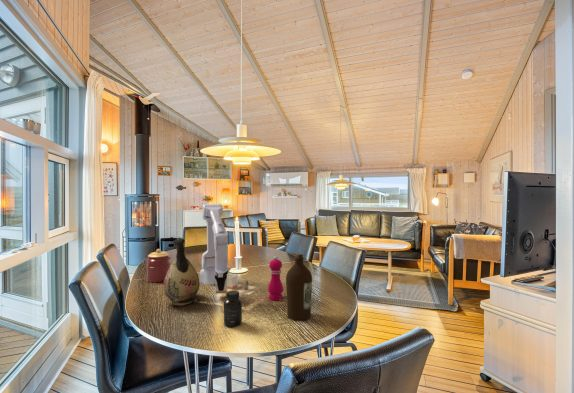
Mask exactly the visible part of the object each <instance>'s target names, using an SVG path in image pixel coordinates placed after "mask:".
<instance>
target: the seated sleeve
mask: <svg viewBox="0 0 574 393" xmlns="http://www.w3.org/2000/svg"><path fill="white" fill-rule="evenodd" d="M238 277H239V276H238V274H232V273H229V274H228V273H227V289H234V288H236V287H238V282H239V281H238Z"/></svg>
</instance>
